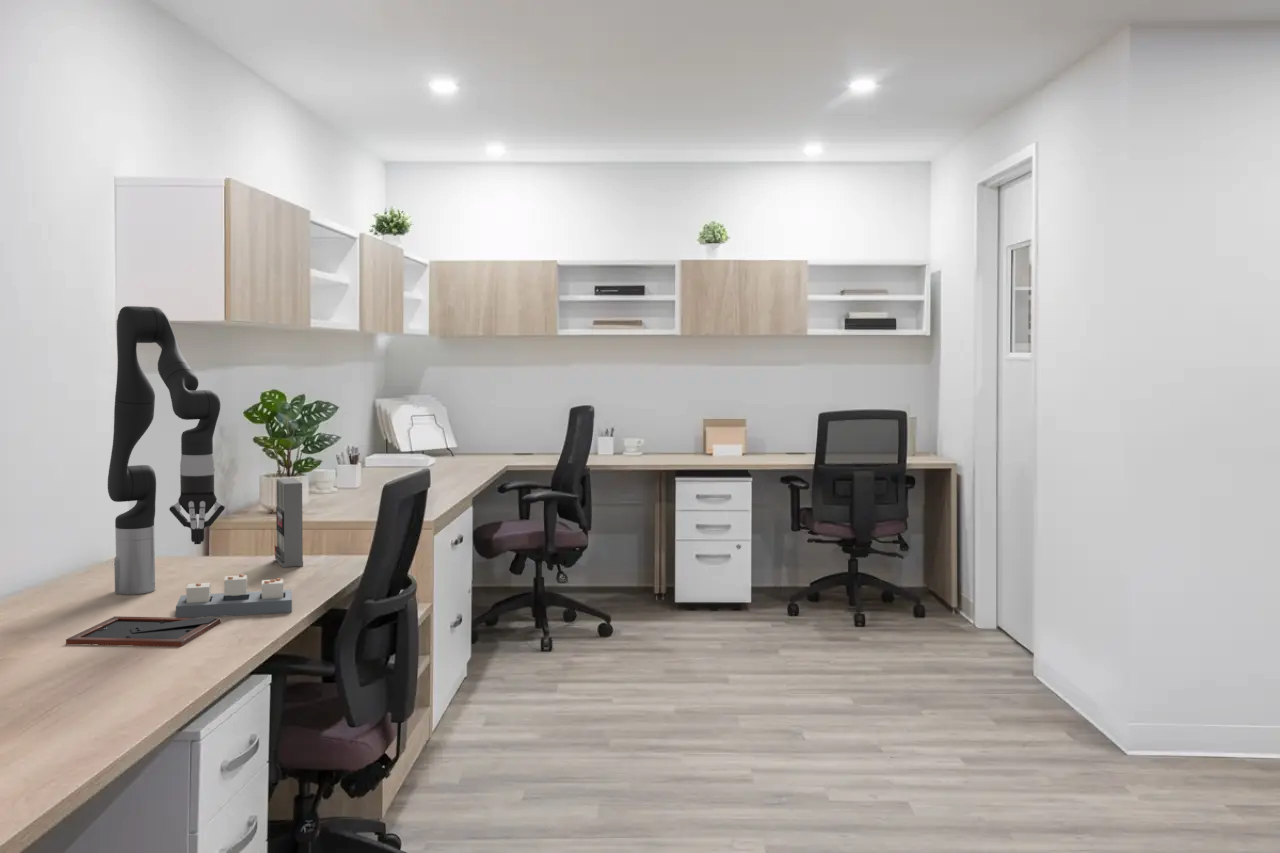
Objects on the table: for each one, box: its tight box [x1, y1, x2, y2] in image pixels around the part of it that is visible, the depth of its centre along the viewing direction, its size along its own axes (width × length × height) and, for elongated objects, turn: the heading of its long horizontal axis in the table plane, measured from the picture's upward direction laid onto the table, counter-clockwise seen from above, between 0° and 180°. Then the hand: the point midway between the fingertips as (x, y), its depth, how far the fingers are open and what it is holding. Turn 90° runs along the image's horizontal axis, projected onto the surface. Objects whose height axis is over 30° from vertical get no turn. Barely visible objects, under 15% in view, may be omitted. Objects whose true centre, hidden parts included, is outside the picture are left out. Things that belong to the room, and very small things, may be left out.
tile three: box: [261, 577, 284, 599], centre depth 259 cm, size 5×5×5 cm
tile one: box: [185, 582, 211, 603], centre depth 253 cm, size 5×5×5 cm
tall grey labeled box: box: [274, 477, 304, 569], centre depth 314 cm, size 14×6×25 cm, turn 28°
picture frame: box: [65, 615, 222, 648], centre depth 234 cm, size 20×2×25 cm
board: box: [175, 589, 293, 618], centre depth 256 cm, size 26×12×3 cm, turn 108°
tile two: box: [223, 573, 248, 596], centre depth 256 cm, size 5×5×5 cm
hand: (197, 543), depth 253 cm, fingers closed
